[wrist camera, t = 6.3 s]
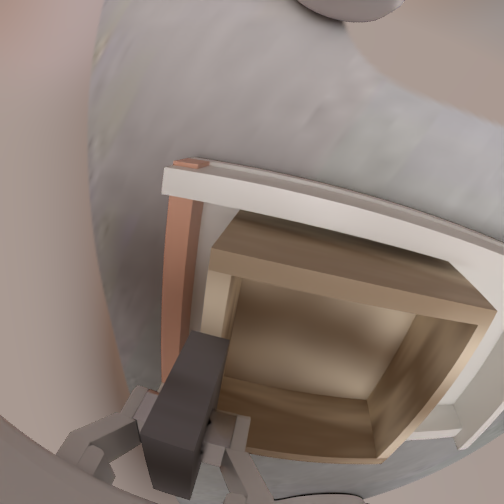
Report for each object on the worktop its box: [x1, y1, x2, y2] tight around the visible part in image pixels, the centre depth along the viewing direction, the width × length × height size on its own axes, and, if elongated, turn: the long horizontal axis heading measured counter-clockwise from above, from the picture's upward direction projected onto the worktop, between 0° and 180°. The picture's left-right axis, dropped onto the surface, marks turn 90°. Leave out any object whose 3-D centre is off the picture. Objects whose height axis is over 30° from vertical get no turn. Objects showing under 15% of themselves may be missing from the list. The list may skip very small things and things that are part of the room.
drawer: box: [139, 209, 497, 500], centre depth 12 cm, size 12×12×11 cm
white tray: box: [157, 157, 504, 450], centre depth 15 cm, size 16×26×6 cm, turn 79°
